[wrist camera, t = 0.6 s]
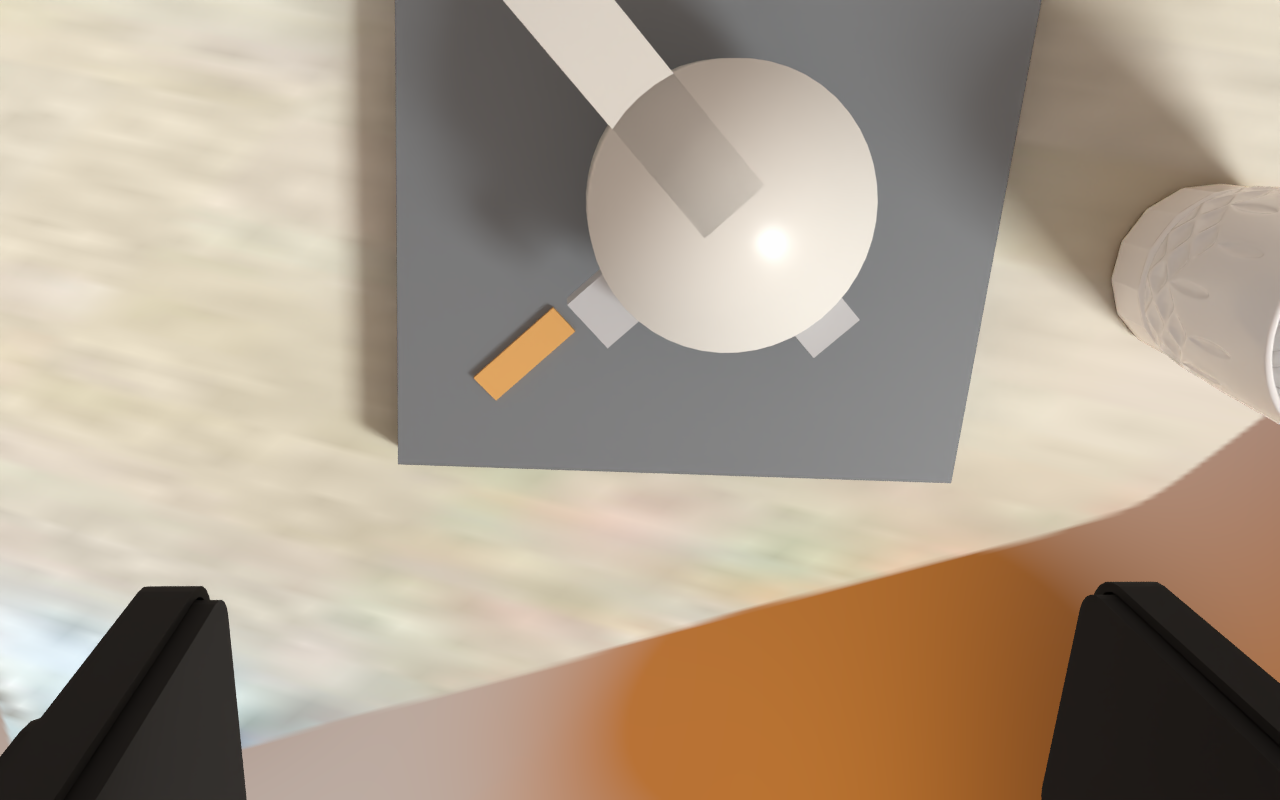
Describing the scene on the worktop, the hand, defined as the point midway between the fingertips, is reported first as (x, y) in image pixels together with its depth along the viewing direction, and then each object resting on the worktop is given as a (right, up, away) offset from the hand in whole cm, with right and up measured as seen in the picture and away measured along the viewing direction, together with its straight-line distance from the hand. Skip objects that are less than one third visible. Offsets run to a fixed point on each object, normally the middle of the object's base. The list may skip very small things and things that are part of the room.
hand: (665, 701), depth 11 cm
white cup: (+22, +9, +29) cm, 37 cm away
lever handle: (-1, +12, +21) cm, 24 cm away
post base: (+2, +11, +26) cm, 28 cm away
